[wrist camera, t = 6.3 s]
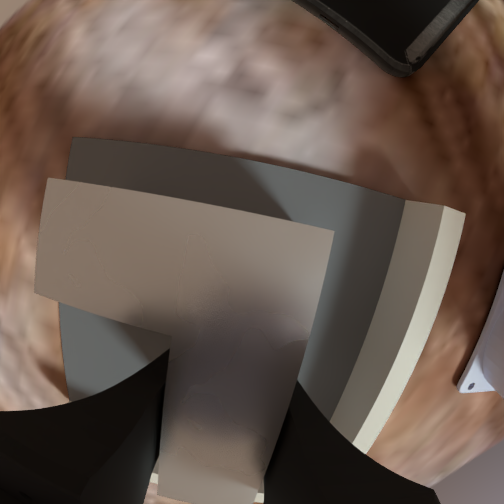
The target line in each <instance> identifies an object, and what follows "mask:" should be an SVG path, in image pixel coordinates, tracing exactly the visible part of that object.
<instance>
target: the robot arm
mask: <svg viewBox="0 0 504 504" xmlns="http://www.w3.org/2000/svg"><path fill="white" fill-rule="evenodd" d="M169 353H170V349H168V350H166V351H165V352H164V353H162V354H161V355H160V356H159V357H157V358H156V359H155V360H153V361H152V362H151V363H149V364H148V365H146V366H145V367H143V368H142V369H140V370H139V371H137V372H136V373H135V374H133V375H131V376H130V377H128V378H126V379H124V380H123V381H121V382H119V383H118V384H116V385H114V386H112V387H110V388H108V389H106V390H104V391H102V392H99V393H97V394H94V395H92V396H89V397H86V398H83V399H80V400H77V401H73V402H70V403H67V404H63V405H58V406H53V407H48V408H42V409H35V410H23V411H0V504H143V503H144V499H145V495H146V492H147V488H148V485H149V481H150V478H151V475H152V472H153V469H154V467H155V464H156V462H157V459H158V457H159V453H160V440H161V427H162V416H163V406H164V396H165V386H166V378H167V369H168V361H169ZM457 390H458V391H459V392H460V393H472V392H485V391H497V392H498V393H499V394H500V396H501V397H502V398H503V399H504V271H503V274H502V277H501V281H500V284H499V287H498V290H497V293H496V296H495V299H494V302H493V305H492V308H491V310H490V313H489V316H488V318H487V321H486V323H485V326H484V328H483V331H482V333H481V336H480V338H479V340H478V343H477V345H476V347H475V349H474V352H473V354H472V356H471V358H470V360H469V362H468V364H467V366H466V368H465V370H464V372H463V374H462V376H461V378H460V380H459V382H458V384H457ZM263 480H264V504H440V502H439V499H438V497H437V495H436V493H435V491H434V490H433V489H431V488H428V487H425V486H423V485H420V484H418V483H415V482H413V481H411V480H408V479H406V478H404V477H402V476H400V475H398V474H396V473H394V472H392V471H391V470H389V469H387V468H385V467H384V466H382V465H380V464H379V463H377V462H376V461H374V460H373V459H371V458H370V457H369V456H367V455H366V454H364V453H363V452H362V451H360V450H359V449H358V448H357V447H355V446H354V445H353V444H352V443H351V442H350V441H348V440H347V439H346V438H345V437H344V436H343V435H342V434H341V433H340V432H339V431H338V430H337V429H336V428H335V427H334V426H333V425H332V424H331V423H330V422H329V421H328V420H327V418H326V417H325V416H324V415H323V414H322V413H321V411H320V410H319V409H318V408H317V406H316V405H315V404H314V402H313V401H312V400H311V398H310V397H309V396H308V394H307V393H306V391H305V390H304V389H303V387H302V386H301V384H300V383H299V381H298V380H297V382H296V385H295V388H294V391H293V394H292V398H291V401H290V404H289V407H288V410H287V413H286V416H285V419H284V422H283V425H282V428H281V431H280V434H279V437H278V440H277V442H276V445H275V448H274V451H273V454H272V456H271V459H270V462H269V465H268V467H267V470H266V472H265V475H264V478H263Z"/></svg>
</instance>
